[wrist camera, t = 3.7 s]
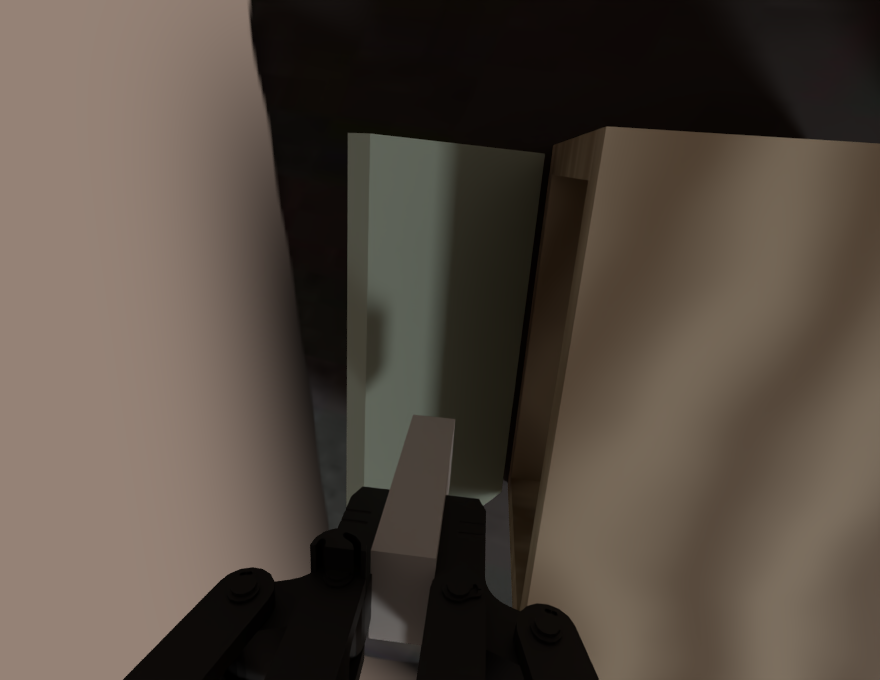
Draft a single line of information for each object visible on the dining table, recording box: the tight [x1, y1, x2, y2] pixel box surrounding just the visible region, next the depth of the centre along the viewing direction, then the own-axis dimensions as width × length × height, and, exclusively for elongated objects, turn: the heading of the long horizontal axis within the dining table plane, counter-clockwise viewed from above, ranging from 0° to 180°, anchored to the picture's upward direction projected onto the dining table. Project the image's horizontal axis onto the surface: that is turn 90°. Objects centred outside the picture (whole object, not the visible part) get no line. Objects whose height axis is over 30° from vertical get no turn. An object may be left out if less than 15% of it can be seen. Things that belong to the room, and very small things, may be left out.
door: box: [347, 133, 545, 505], centre depth 26 cm, size 2×21×12 cm
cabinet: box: [508, 126, 880, 680], centre depth 24 cm, size 14×22×14 cm, turn 176°
